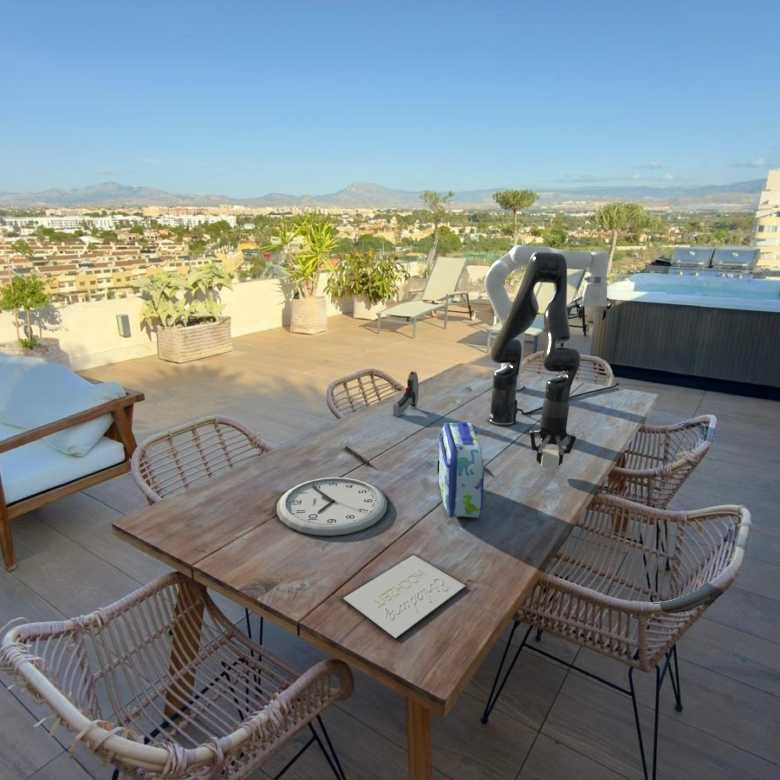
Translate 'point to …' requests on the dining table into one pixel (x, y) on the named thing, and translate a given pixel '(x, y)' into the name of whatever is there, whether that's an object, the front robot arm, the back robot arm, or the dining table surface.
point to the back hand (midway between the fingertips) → (591, 319)
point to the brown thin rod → (357, 455)
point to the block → (550, 459)
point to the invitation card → (404, 595)
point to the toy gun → (408, 395)
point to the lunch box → (461, 470)
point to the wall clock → (331, 506)
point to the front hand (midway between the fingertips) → (549, 463)
